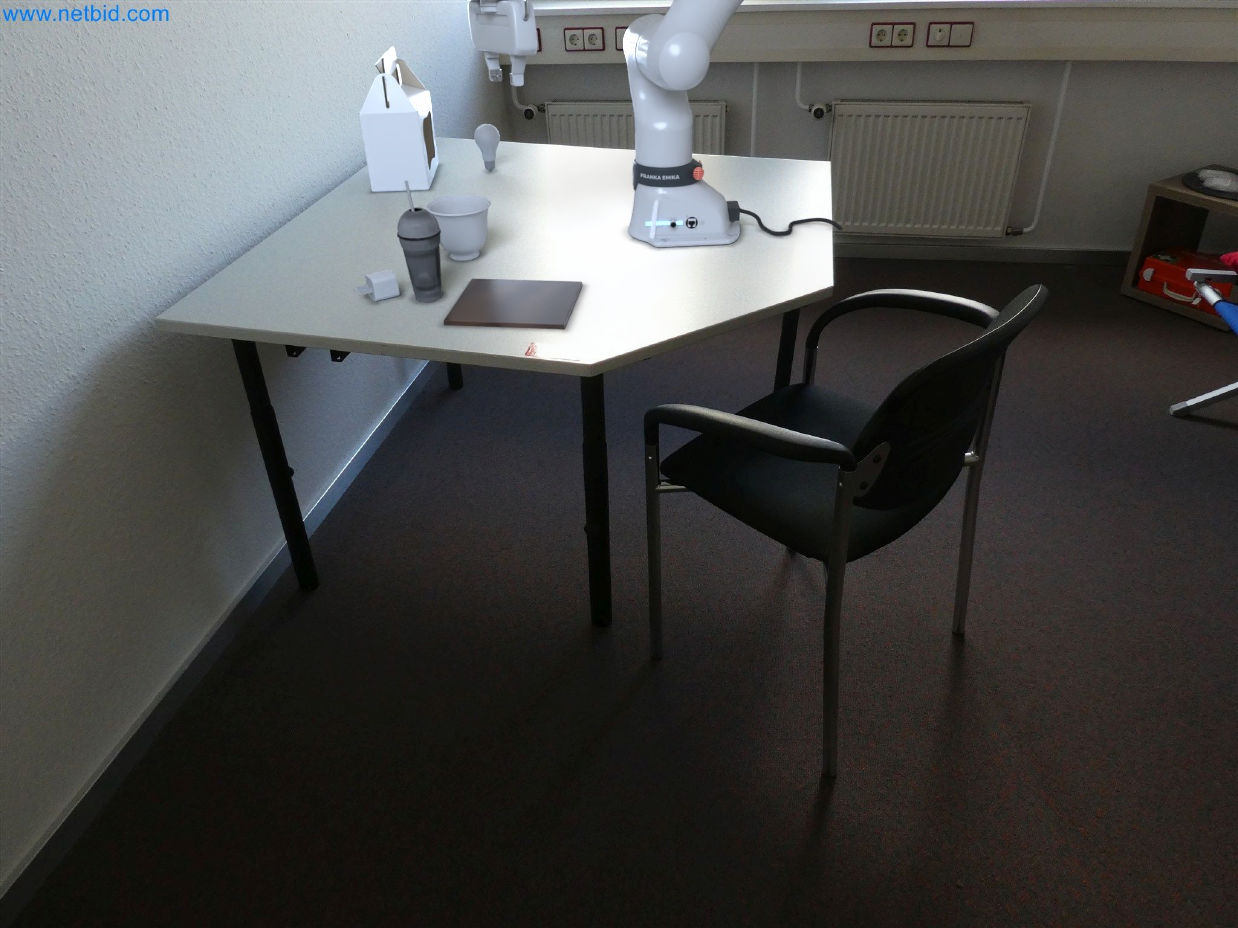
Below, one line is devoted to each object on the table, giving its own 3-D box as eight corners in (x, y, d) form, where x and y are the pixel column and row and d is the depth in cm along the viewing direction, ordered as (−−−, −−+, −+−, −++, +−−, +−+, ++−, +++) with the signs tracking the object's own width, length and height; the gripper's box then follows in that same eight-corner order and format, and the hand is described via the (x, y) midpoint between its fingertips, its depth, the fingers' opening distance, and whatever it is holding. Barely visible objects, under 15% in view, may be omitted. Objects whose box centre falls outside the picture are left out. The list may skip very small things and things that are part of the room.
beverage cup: (430, 308, 153) (412, 191, 142) (398, 300, 156) (379, 184, 145) (458, 293, 158) (443, 179, 147) (427, 286, 161) (410, 173, 150)
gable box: (386, 166, 227) (366, 45, 211) (439, 164, 228) (423, 43, 212) (371, 193, 209) (349, 62, 193) (429, 190, 209) (411, 60, 194)
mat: (582, 285, 160) (582, 281, 160) (564, 329, 145) (564, 324, 145) (472, 282, 162) (471, 278, 162) (444, 325, 148) (443, 320, 147)
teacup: (408, 258, 173) (400, 206, 168) (476, 240, 181) (470, 190, 175) (438, 276, 165) (430, 222, 160) (507, 256, 173) (503, 205, 167)
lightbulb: (501, 174, 219) (497, 127, 213) (476, 174, 219) (471, 127, 213) (504, 167, 224) (500, 121, 218) (479, 167, 224) (475, 121, 218)
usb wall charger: (400, 297, 158) (396, 275, 155) (361, 306, 155) (357, 284, 152) (391, 289, 160) (388, 268, 158) (354, 298, 157) (349, 277, 155)
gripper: (545, -13, 133) (549, 87, 140) (495, -13, 150) (502, 78, 156) (505, -13, 131) (511, 90, 137) (459, -12, 147) (467, 80, 154)
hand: (506, 83), depth 147 cm, fingers open, 8 cm apart
